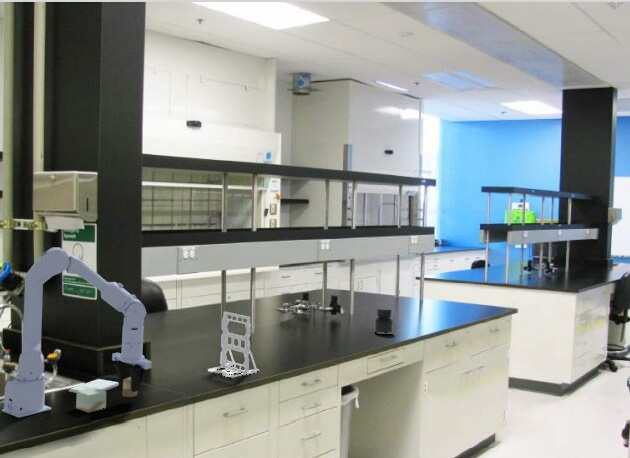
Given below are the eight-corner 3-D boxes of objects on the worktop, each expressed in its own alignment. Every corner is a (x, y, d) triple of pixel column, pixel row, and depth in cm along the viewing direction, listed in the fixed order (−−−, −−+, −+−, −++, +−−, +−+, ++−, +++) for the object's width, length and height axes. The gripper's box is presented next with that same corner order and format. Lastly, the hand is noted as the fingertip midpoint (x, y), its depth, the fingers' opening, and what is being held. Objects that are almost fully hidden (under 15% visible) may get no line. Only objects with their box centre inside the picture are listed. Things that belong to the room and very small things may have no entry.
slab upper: (88, 404, 170) (88, 395, 170) (76, 400, 174) (76, 391, 174) (105, 400, 175) (106, 391, 175) (93, 396, 178) (94, 387, 178)
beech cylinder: (128, 397, 177) (129, 381, 177) (119, 394, 180) (120, 379, 179) (140, 394, 181) (140, 379, 180) (130, 392, 183) (131, 376, 183)
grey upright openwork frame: (203, 370, 220) (206, 313, 220) (233, 364, 231) (235, 309, 230) (231, 379, 211) (234, 319, 210) (261, 372, 221) (263, 315, 221)
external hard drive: (118, 387, 197) (90, 397, 185) (97, 383, 200) (68, 393, 188) (118, 382, 197) (90, 392, 185) (97, 378, 200) (68, 388, 188)
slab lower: (88, 414, 170) (89, 404, 170) (76, 409, 173) (76, 400, 173) (105, 409, 175) (106, 400, 175) (93, 405, 178) (93, 396, 178)
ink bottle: (393, 332, 308) (394, 308, 308) (393, 336, 300) (394, 311, 299) (373, 331, 309) (374, 307, 309) (373, 334, 301) (374, 309, 300)
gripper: (160, 344, 179) (158, 391, 179) (126, 336, 187) (124, 381, 187) (141, 347, 173) (138, 397, 173) (107, 339, 181) (104, 386, 182)
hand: (130, 389), depth 180 cm, fingers closed on beech cylinder, 4 cm apart
